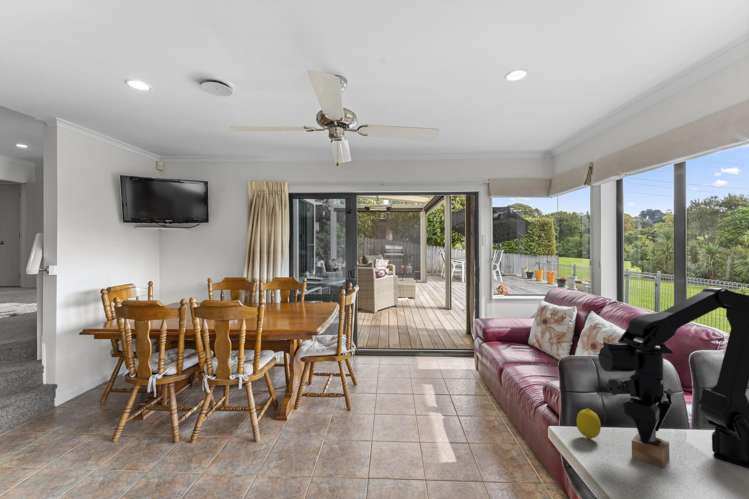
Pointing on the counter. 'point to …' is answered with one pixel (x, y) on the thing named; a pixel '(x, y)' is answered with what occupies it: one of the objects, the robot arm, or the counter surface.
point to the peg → (653, 438)
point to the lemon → (588, 423)
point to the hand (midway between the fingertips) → (650, 436)
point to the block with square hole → (651, 451)
